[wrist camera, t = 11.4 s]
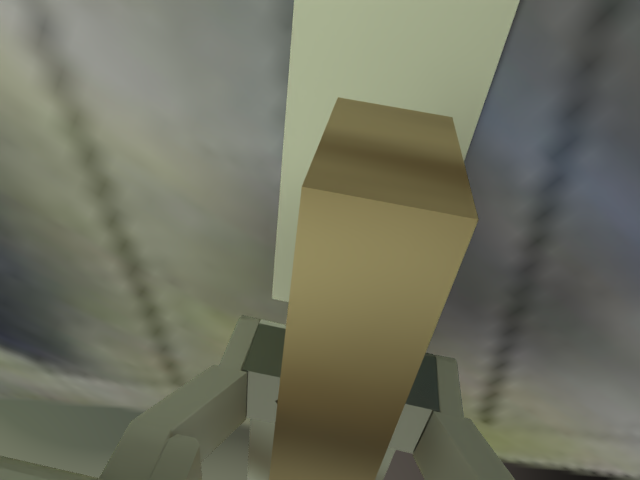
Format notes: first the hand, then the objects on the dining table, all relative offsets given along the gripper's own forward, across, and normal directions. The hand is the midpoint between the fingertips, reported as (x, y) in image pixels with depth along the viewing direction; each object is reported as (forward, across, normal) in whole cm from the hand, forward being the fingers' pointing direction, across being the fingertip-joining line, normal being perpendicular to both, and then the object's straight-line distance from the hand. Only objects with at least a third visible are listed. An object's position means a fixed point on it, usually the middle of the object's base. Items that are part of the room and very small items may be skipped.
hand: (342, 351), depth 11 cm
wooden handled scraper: (+2, 0, +2) cm, 3 cm away
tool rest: (+14, 0, +2) cm, 14 cm away
